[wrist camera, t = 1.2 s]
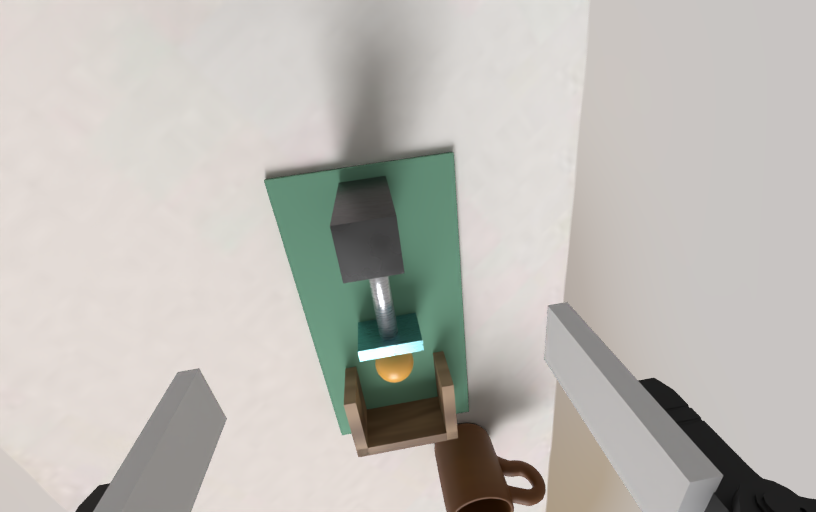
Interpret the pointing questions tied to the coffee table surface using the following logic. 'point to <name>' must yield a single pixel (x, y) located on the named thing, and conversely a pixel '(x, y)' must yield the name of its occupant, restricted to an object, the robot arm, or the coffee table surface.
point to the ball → (395, 367)
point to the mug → (482, 474)
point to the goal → (401, 416)
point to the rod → (373, 264)
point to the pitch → (412, 291)
